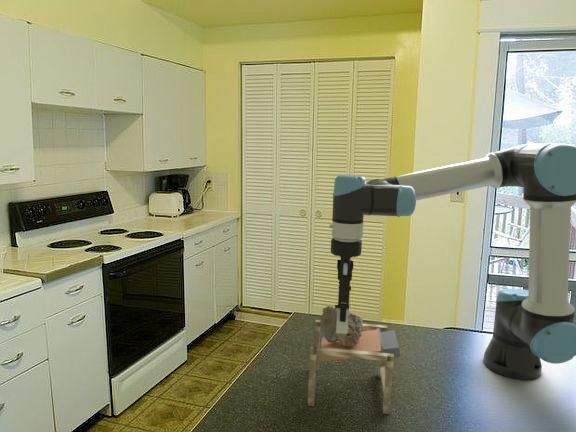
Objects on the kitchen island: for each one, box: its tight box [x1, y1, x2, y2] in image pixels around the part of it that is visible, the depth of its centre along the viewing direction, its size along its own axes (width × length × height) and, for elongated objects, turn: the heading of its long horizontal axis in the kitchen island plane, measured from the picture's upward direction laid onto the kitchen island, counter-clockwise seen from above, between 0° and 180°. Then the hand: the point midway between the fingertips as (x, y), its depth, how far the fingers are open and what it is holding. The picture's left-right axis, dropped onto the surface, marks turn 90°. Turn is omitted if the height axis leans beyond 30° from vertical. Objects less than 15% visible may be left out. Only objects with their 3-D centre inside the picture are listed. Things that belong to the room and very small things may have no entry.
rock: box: [319, 305, 364, 347], centre depth 112 cm, size 9×12×10 cm
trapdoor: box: [319, 328, 401, 363], centre depth 113 cm, size 19×14×3 cm
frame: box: [307, 319, 395, 415], centre depth 114 cm, size 20×18×15 cm
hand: (342, 323), depth 112 cm, fingers open, 11 cm apart
